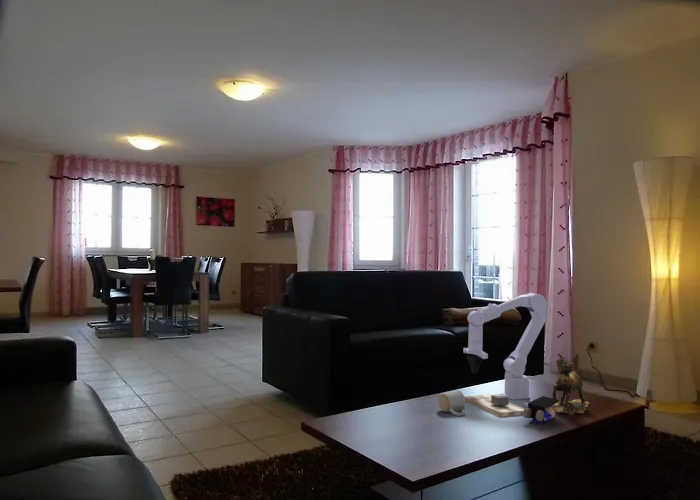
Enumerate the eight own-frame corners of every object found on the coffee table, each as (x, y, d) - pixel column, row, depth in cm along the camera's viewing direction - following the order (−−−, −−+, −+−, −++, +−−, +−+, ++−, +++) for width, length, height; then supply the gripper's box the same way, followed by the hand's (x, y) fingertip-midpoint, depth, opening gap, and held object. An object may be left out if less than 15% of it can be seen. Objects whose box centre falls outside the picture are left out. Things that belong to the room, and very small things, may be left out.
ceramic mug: (436, 409, 192) (437, 389, 192) (453, 407, 195) (454, 388, 195) (453, 418, 183) (454, 397, 183) (471, 415, 186) (471, 395, 186)
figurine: (542, 410, 195) (543, 356, 195) (568, 398, 213) (568, 349, 213) (577, 418, 186) (577, 361, 186) (600, 405, 204) (601, 354, 204)
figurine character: (541, 432, 173) (560, 418, 184) (540, 410, 172) (559, 397, 183) (522, 427, 178) (541, 414, 188) (521, 406, 177) (541, 393, 188)
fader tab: (502, 402, 197) (502, 393, 197) (508, 404, 193) (508, 396, 193) (491, 403, 195) (491, 394, 195) (497, 406, 191) (497, 397, 191)
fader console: (489, 398, 210) (489, 394, 210) (527, 414, 189) (527, 409, 189) (463, 400, 206) (463, 396, 206) (499, 416, 184) (500, 412, 184)
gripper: (457, 337, 219) (456, 370, 218) (477, 343, 205) (476, 377, 205) (471, 337, 221) (470, 369, 221) (492, 342, 208) (491, 376, 207)
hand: (474, 373), depth 213 cm, fingers closed
